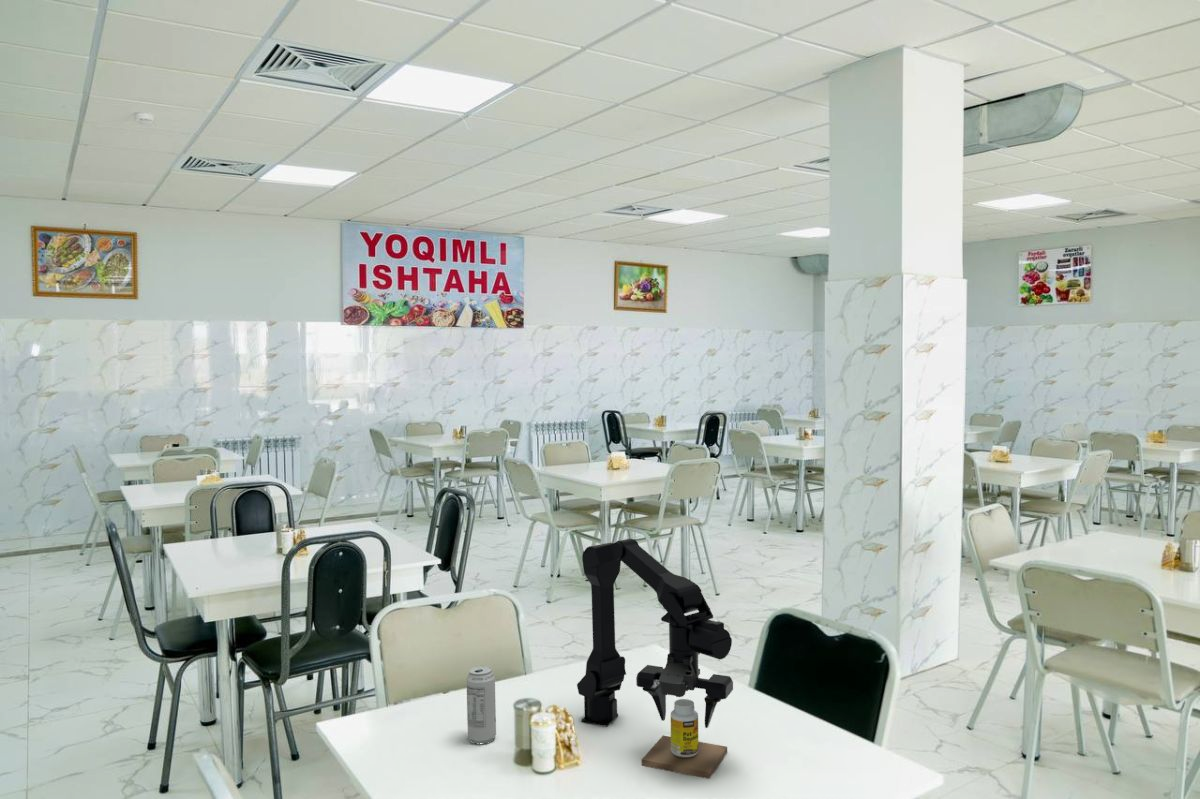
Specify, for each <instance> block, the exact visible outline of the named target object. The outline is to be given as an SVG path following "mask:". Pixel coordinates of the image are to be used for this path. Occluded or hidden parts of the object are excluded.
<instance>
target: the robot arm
mask: <svg viewBox="0 0 1200 799" xmlns="http://www.w3.org/2000/svg"><path fill="white" fill-rule="evenodd" d="M581 558H582V560H581V561H582V569H583V574H584V575H585V577H586V579H587V580H588V581H589V583H590V588H591V591H590V592H591V613H592V614H591V620H592V623H591V624H592V650H591V652H590V654H589V656H588V659H587V660H586V665H585V666H586V667H585V675H584V676H582V678H581V679H580V681H578V683H577V684H576V686H577V687H576V688H577V692H578V695H579V696H583V698H584V699H583V700H584V702H583V704H584V705H583V706H584V708H583V709H584V716H582V718H581V723H587V724H593V725H598V726H603V727H608V726H609V725H610V724H612V722H614V721H615V720H616V719H617V718H618V717H619V713H618V700H617V698H616V693H615V692H617V691H621V688H622V684H623V682H624V680H625V676H626V675H627V671H626V665H625V664H626V658H625V657H624V656H622V655H621V654H619V651H618V650H617V649H616V622H615V619H616V618H615V583H616V580H617V578H618V576H619V574H620V573H621V563H624V565H626V567H628V568H629V569H630V570H631V571H632V572H633V573H635V575H637V576H638V577H639V578H640V579H641V580H642V581H644V582H645V583H646V584H647V585H648V586H649V587H650V588H652V589H653V590H654V592H655V593H656V597H657V601H658V602H659V603H660V605H661V606H662V607H663V609H664V610H665V611H666V613H665V614H664V615H662V616H661V618H660V620H661V621H662V622H665V623H667V624H668V638H669V643H668V644H669V647H668V648H669V652H668V654H667V657H666V663H665V667H663V666H657V665H651V664H646V665H645V666H644V667H643V668H642V669H641V670H640V671H639V672H638V673H637V674H636V680H635V681H636V687H639V688H642V690H643V691H644V692H647V693H648V694H649V695H650V696H651V698H652V700H653V702H654V703H655V707H656V709H657V711H658V714H659V717H660V720H661V721H665V720H666V713H667V702H666V700H667V697H666V696H675V697H676V698H682V697H684V696H685V695H686V692H688V691H694V690H695V689H702V690H705V694H706V695H705V697H704V702H705V709H704V710H705V711H704V727H705V729H707V728H709V727H710V723H711V720H712V717H713V714H714V712H715V709H716V707H717V705H718V703H720V702H721V701H722V700H726V699H727V698H728V697H729V695H730V694H731V693H732V692H733V690H734V680H733V679H732V677H731V676H729V675H722V674H715V673H712V675H711V676H710V677H709V678H701V677H699V675H701V668H699V655H700V654H701V655H704V656H708V657H710V658H714V659H716V660H723V659H725V658H726V657H727V656H728V655H729V653H730V651H731V648H732V644H733V642H732V640H733V638H732V637H731V634H730V632H729V631H728V630H727V629H725V623H724V622H722V621H715V620H712V619H713V618H714V614H713V613H712V610H711V608H710V606H709V605H708V603H707V601H706V599H705V596H704V595H703V593H702V588H701V586H699V585H698V584H697V583H695V582H694V581H692V580H690V579H688V578H687V577H684V576H682V575H679V574H674V573H672V572H671V571H669V569H667V568H666V567H665V566H664V565H663V564H662V563H660V562H659V561H658V560H657V559H655V558H654V557H653V556H652V555H651V554H649V552H647V551H646V550H645V549H644V548H642V546H640V545H639V543H638V541H637V540H636V539H633V538H625V539H621V540H617V541H615V542H607V543H606V542H605V543H601V544H595V545H591V546H587V547H586V548H585V549H584V551H582V555H581ZM695 611H696V612H695ZM697 611H698V612H697ZM692 612H693V613H692ZM689 613H691V614H689ZM685 614H687V615H685Z"/></svg>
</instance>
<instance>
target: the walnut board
mask: <svg viewBox="0 0 1200 799" xmlns="http://www.w3.org/2000/svg"><path fill="white" fill-rule="evenodd" d="M727 753H728V746H725V745H720V744H714V743H708V742H702V741H698V753H697V754H696V755H695V756H693V757H688V758H683V757H678V756H676V755H674V754H673V753H672V751H671V736H669V735H663V734H662V736H661V737H660V738H659V739H658V740H657V741H656V743H654V745H653V746H652V747H651V748H650V749H649V750H648V752H647V753H646V754H645V755H644V756H643V757H642V758H641V766H642V767H643V766H644V767H648V768H654V769H658V770H663V769H664V771H668V770H669V772H674V771H675V772H674V773H678V772H679V774H683V773H684V775H688V774H689V775H688V776H695V777H700V778H704V777H705V778H706V779H709V778H710V779H711V777H712V776H713V774H714V773H715V771H716V770H717V769H718V767H719V766H720V764H721V763H722V762H723V760H724V758H725V757H726V755H727Z"/></svg>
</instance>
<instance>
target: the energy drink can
mask: <svg viewBox="0 0 1200 799" xmlns="http://www.w3.org/2000/svg"><path fill="white" fill-rule="evenodd" d="M468 672H469V673H468V674H467V676H466V712H467V715H466V720H467V738H468V739H469V740H470V742H471V741H472V742H473V744H474V743H479V744H478V745H481V744H480V743H486V744H489V743H488V742H490V741H491V742H493V741H494V738H495V737H497V736H496V735H497V718H496V717H497V716H496V713H497V710H496V707H497V706H496V675H495V674H494V673H493V668H492V667H491V666H484V665H480V666H474V667H471V668H470V669H469V671H468ZM492 740H493V741H492ZM472 742H471V743H472ZM491 742H490V743H491Z"/></svg>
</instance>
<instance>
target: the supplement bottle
mask: <svg viewBox="0 0 1200 799" xmlns="http://www.w3.org/2000/svg"><path fill="white" fill-rule="evenodd" d="M673 708H674V709H673V710H671V711H670V737H671V751H672V753H673V754H674V755H676V756H678V757H683V758H688V757H693V756H695V755H696V754H697V753H698V742H699V713H698V712H697V710H696V709H695V703H694V701H693V700H691V699H688V698H680V699H676V700H675V701H674V707H673Z"/></svg>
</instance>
